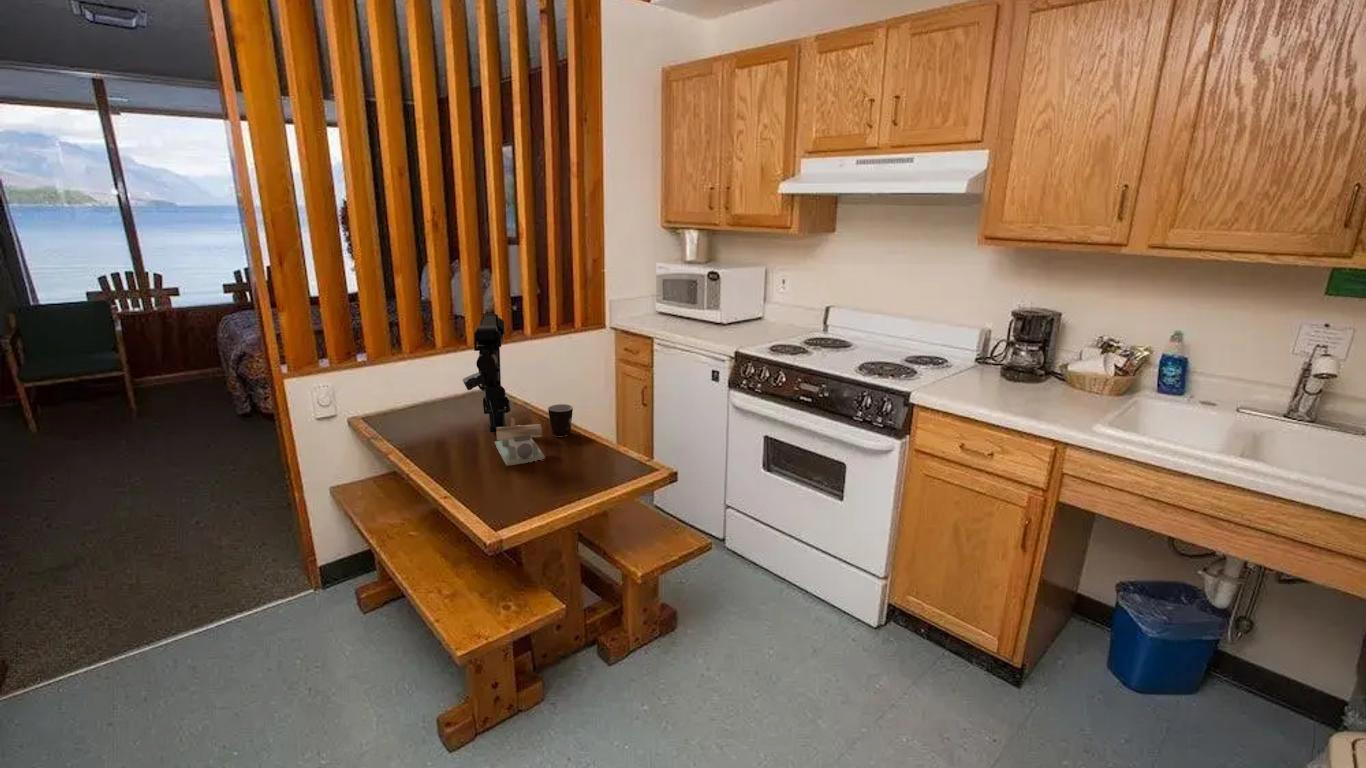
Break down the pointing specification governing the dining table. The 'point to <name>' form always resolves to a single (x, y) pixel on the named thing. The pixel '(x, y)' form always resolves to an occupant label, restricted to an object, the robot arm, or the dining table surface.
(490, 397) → the robot arm
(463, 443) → the dining table surface
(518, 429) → the tan rectangular block
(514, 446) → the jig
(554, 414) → the coffee mug
